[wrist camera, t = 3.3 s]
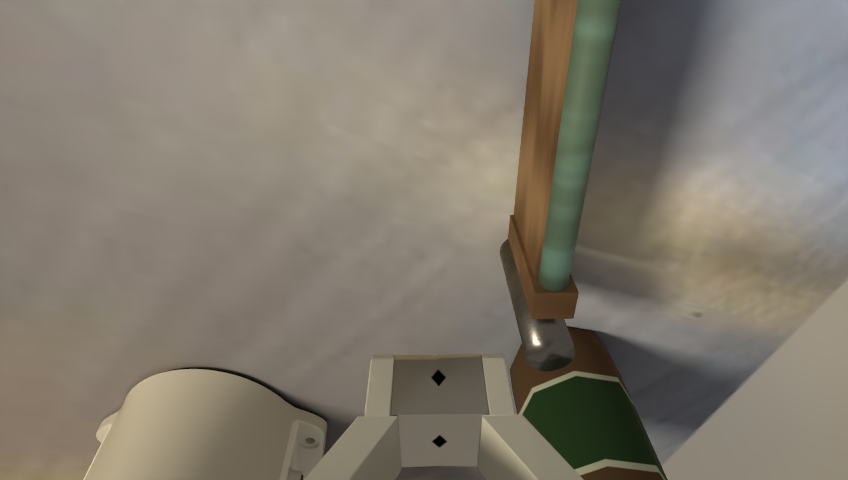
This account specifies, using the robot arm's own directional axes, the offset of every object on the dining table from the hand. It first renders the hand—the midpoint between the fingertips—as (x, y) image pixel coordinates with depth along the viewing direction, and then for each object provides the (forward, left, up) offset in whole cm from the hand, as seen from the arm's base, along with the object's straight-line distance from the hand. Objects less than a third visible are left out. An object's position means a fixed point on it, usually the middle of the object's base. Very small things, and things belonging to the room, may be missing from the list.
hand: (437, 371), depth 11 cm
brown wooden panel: (+1, -6, -17) cm, 18 cm away
